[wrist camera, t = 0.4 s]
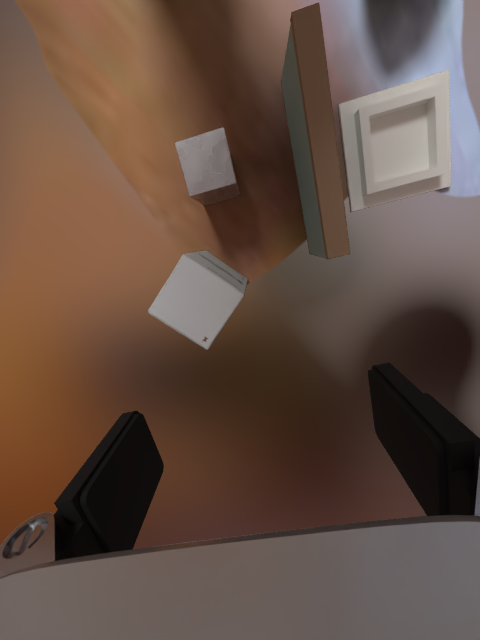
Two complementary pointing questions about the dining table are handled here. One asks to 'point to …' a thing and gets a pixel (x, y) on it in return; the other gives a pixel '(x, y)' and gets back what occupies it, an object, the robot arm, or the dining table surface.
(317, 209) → the door board
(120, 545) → the robot arm
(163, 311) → the supplement box
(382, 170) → the cradle
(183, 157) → the block
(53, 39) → the dining table surface
